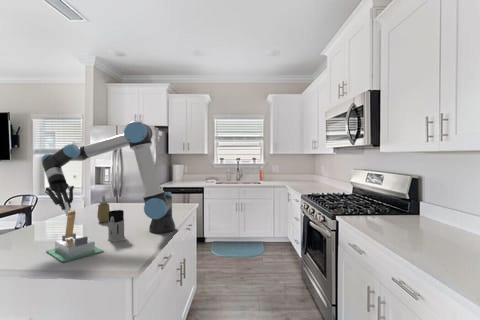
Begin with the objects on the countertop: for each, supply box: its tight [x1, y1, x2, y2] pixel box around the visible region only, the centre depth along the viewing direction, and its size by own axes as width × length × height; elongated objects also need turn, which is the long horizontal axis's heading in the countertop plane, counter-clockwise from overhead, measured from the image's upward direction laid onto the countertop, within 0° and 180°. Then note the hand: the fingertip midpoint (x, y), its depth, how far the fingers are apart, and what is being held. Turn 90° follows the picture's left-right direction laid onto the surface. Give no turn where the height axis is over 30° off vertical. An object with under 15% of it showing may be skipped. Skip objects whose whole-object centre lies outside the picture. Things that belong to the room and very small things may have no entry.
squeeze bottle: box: [96, 195, 111, 223], centre depth 190 cm, size 8×8×18 cm
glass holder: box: [107, 209, 126, 242], centre depth 147 cm, size 9×14×15 cm, turn 10°
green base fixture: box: [45, 232, 105, 264], centre depth 130 cm, size 22×17×8 cm
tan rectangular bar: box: [64, 210, 77, 239], centre depth 133 cm, size 14×3×2 cm
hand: (68, 214), depth 134 cm, fingers closed
